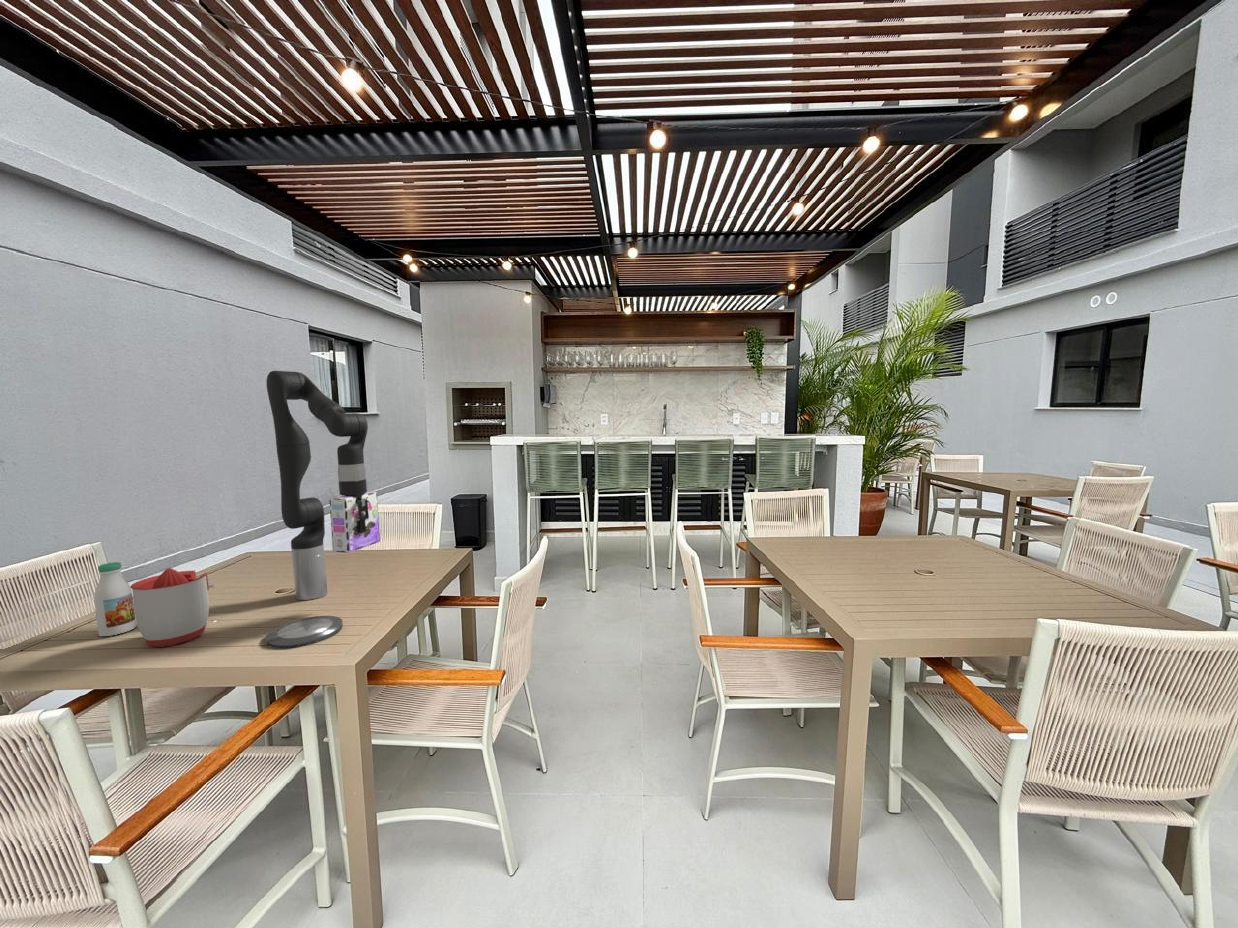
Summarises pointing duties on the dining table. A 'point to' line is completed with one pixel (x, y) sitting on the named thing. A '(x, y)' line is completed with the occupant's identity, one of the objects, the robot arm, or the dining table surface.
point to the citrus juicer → (171, 607)
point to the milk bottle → (113, 601)
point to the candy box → (353, 523)
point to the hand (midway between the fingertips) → (356, 530)
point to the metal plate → (304, 631)
